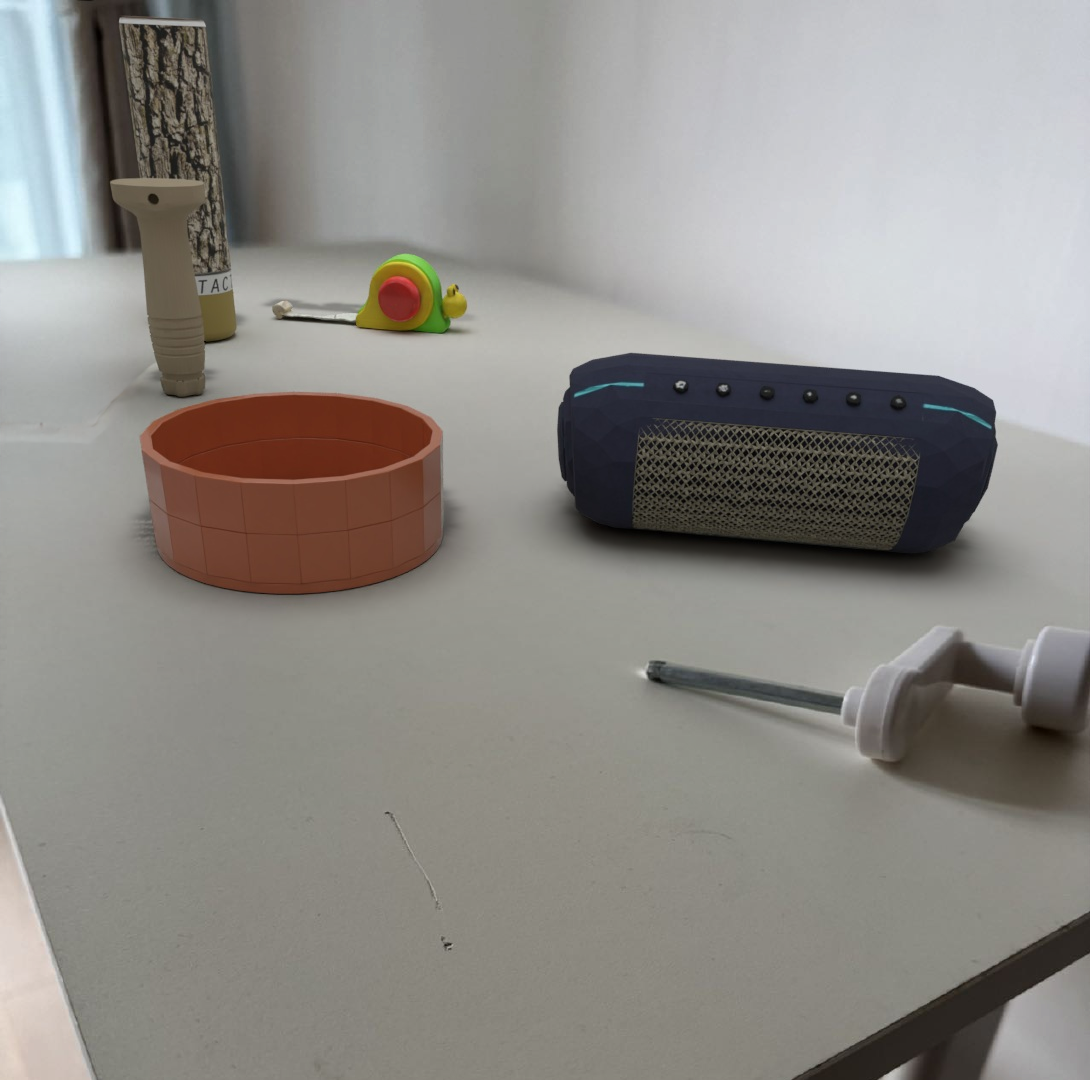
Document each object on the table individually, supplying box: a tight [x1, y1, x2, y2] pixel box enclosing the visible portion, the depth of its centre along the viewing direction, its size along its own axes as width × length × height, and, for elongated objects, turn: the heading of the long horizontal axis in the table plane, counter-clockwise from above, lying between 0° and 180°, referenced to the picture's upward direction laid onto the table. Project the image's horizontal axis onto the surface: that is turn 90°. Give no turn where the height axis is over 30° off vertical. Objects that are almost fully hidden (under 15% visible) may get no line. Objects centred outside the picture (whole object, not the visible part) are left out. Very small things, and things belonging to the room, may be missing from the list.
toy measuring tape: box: [271, 253, 468, 334], centre depth 109 cm, size 6×19×7 cm, turn 80°
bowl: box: [139, 391, 445, 595], centre depth 64 cm, size 16×16×6 cm
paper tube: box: [118, 15, 238, 342], centre depth 98 cm, size 7×7×25 cm
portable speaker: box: [556, 352, 999, 554], centre depth 65 cm, size 25×10×10 cm, turn 82°
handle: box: [109, 177, 206, 398], centre depth 85 cm, size 5×6×15 cm
